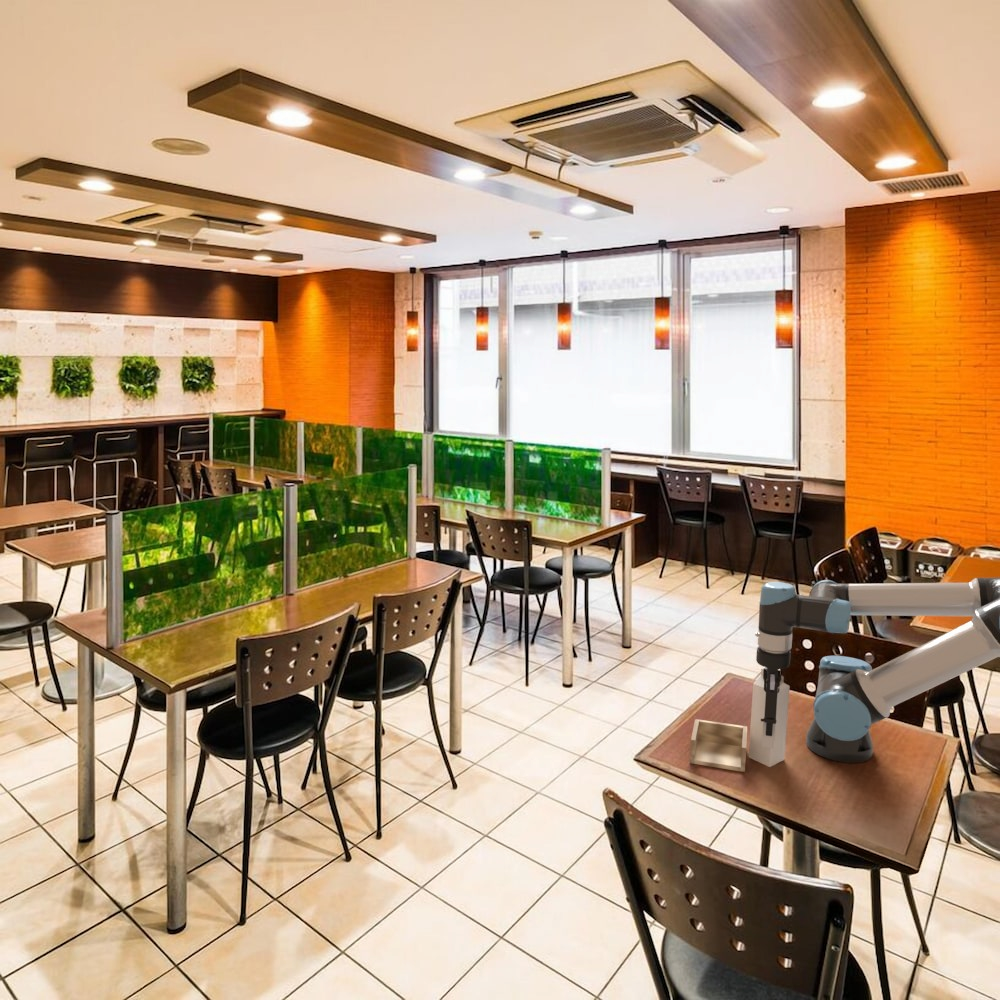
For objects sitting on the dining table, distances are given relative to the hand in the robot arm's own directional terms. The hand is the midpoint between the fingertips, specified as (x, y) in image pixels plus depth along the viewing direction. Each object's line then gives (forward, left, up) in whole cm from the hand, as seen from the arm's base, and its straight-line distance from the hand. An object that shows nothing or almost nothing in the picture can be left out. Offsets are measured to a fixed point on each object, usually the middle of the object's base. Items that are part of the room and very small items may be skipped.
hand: (767, 738), depth 186 cm
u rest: (+11, +3, -5) cm, 13 cm away
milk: (0, 0, -5) cm, 5 cm away
